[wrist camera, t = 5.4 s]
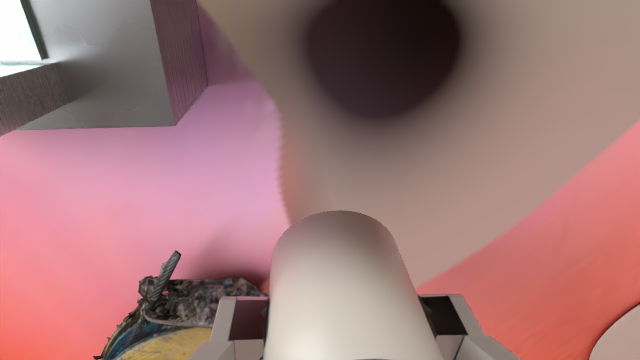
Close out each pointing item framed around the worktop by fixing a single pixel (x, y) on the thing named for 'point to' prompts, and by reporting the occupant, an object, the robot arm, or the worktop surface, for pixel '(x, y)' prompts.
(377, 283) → the white domed cylinder
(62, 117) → the motor
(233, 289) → the pulley block
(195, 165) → the worktop surface
